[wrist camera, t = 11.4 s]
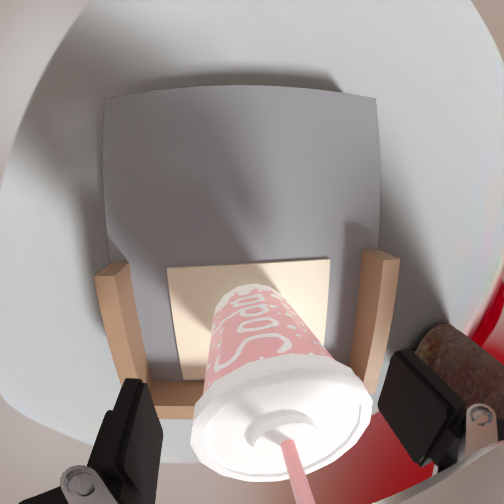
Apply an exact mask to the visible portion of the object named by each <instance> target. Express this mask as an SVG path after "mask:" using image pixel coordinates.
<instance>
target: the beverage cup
mask: <svg viewBox="0 0 504 504" xmlns="http://www.w3.org/2000/svg"><path fill="white" fill-rule="evenodd" d="M371 409H372V399H371V397H370V395H369V393H368V392H367V390H366V388H365V386H364V384H363V383H362V381H361V380H360V378H359V377H358V376H356V375H355V374H354V372H353V371H352V369H351V368H350V367H347V366H345V365H343V364H341V363H340V362H338V361H336V360H334V358H333V357H332V356H331V355H330V354H329V352H328V351H327V350H326V349H325V347H324V346H323V345H322V344H321V342H320V341H319V340H318V339H317V337H316V336H315V335H314V334H313V332H312V331H311V330H310V329H309V328H308V326H307V325H306V324H305V323H304V321H303V320H302V319H301V318H300V316H299V315H298V314H297V313H296V311H295V310H294V309H293V308H292V306H291V305H290V304H289V303H288V301H287V300H286V299H285V298H284V297H283V295H282V294H281V293H279V292H277V291H276V290H274V289H273V288H271V287H269V286H265V285H259V284H249V285H244V286H239V287H237V288H235V289H233V290H232V291H230V292H229V293H227V294H226V295H224V296H223V298H222V299H221V301H220V302H219V303H218V305H217V306H216V308H215V313H214V318H213V324H212V331H211V338H210V345H209V353H208V360H207V367H206V375H205V382H204V390H203V396H202V397H201V398H200V399H199V400H198V402H197V403H196V404H195V409H194V416H193V423H192V430H191V437H190V444H191V446H192V448H193V450H194V451H195V453H196V455H197V456H198V458H199V460H200V461H201V463H203V464H204V465H206V466H208V467H209V468H211V469H212V470H214V471H216V472H218V473H219V474H221V475H223V476H227V477H231V478H235V479H239V480H244V481H249V482H265V481H281V480H285V479H290V482H291V486H292V489H293V493H294V497H295V500H296V503H297V504H315V502H314V499H313V496H312V493H311V490H310V487H309V484H308V481H307V478H306V474H309V473H311V472H313V471H315V470H317V469H319V468H322V467H324V466H326V465H328V464H329V463H331V462H333V461H335V460H336V459H338V458H339V457H340V456H341V455H342V454H344V453H345V452H346V451H347V450H349V449H350V448H351V447H352V446H353V445H354V444H356V442H357V441H358V439H359V438H360V436H361V435H362V433H363V432H364V430H365V429H366V427H367V426H368V424H369V422H370V416H371Z"/></svg>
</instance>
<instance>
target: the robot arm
mask: <svg viewBox="0 0 504 504" xmlns="http://www.w3.org/2000/svg"><path fill="white" fill-rule="evenodd" d="M466 405H467V404H466V403H465V402H464V401H463V400H462V399H461V398H460V397H459V396H458V395H457V394H456V393H455V392H454V391H453V390H452V389H451V388H450V387H449V386H448V385H447V384H446V383H445V382H444V381H443V380H442V379H441V378H440V377H439V376H438V375H437V374H436V373H435V372H434V371H433V370H432V369H431V368H430V367H429V366H428V365H427V364H425V363H424V362H423V361H422V360H421V359H420V358H419V357H418V356H417V355H416V354H415V353H414V352H413V351H412V350H411V349H409V348H406V349H403V350H399V351H396V352H395V353H394V355H393V356H392V357H391V360H390V364H389V367H388V371H387V374H386V378H385V381H384V385H383V388H382V391H381V394H380V397H379V400H378V409H379V411H380V412H381V414H382V415H383V417H384V418H385V420H386V421H387V423H388V424H389V426H390V427H391V429H392V430H393V431H394V433H395V434H396V436H397V437H398V439H399V440H400V442H401V443H402V445H403V446H404V448H405V449H406V451H407V452H408V454H409V455H410V457H411V458H412V460H413V461H414V462H415V463H418V464H419V466H420V467H423V466H425V465H427V464H429V463H431V461H433V462H434V464H435V465H434V470H433V475H432V477H430V478H429V479H427V480H425V481H423V482H421V483H419V484H417V485H415V486H413V487H411V488H409V489H406V490H404V491H402V492H400V493H397V494H395V495H393V496H391V497H388V498H385V499H383V500H380V501H378V502H375V503H373V504H504V419H499V418H496V414H495V412H494V410H493V409H492V408H491V407H489V406H487V405H485V404H481V403H480V404H474V405H472V406H470V407H469V408H468V410H466V409H465V407H466ZM162 441H163V430H162V427H161V424H160V421H159V418H158V416H157V413H156V410H155V407H154V403H153V400H152V397H151V394H150V391H149V387H148V384H147V383H143V381H142V379H138V378H126V379H125V380H124V382H123V385H122V388H121V390H120V393H119V395H118V398H117V401H116V403H115V406H114V409H113V411H112V410H108V411H107V412H106V414H105V416H104V419H103V422H102V424H101V427H100V430H99V432H98V435H97V438H96V441H95V444H94V447H93V450H92V453H91V455H90V458H89V461H88V464H87V466H80V465H77V466H73V467H70V468H68V469H67V470H66V471H65V472H64V473H63V474H62V476H61V478H60V486H59V487H57V488H55V489H52V490H50V491H47V492H45V493H42V494H39V495H37V496H34V497H31V498H29V499H26V500H23V501H22V502H20V503H19V504H155V499H156V489H157V479H158V471H159V463H160V456H161V448H162Z"/></svg>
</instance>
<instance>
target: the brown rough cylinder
mask: <svg viewBox="0 0 504 504" xmlns="http://www.w3.org/2000/svg"><path fill="white" fill-rule="evenodd" d="M414 353H415V354H416V355H417V356H418V357H419V358H420V359H421V360H422V361H423V362H424V363H425V364H427V365H428V366H429V367H430V368H431V369H432V370H433V371H434V372H435V373H436V374H437V375H438V376H439V377H440V378H441V379H442V380H443V381H444V382H445V383H446V384H447V385H448V386H449V387H450V388H451V389H452V390H453V391H454V392H455V393H456V394H457V395H458V396H459V397H460V398H461V399H462V400H463V401H464V402H465V403H466V404H467V405H466V407H465V409H466V410H468V408H469V407H470V406H472V405H474V404H480V403H481V404H485V405H487V406H489V407H491V408H492V409H493V410H494V412H495V414H496V418H499V419H504V365H503V364H501V363H500V362H499V361H497V360H496V359H495V358H494V357H493V356H491V355H490V354H489V353H488V352H486V351H485V350H484V349H483V348H481V347H480V346H479V345H477V344H476V343H475V342H474V341H472V340H471V339H470V338H468V337H467V336H466V335H464V334H463V333H462V332H460V331H459V330H457V329H456V328H454V327H453V326H452V325H451V324H441V325H436V326H435V327H433V328H432V329H431V330H430V331H428V332H427V334H426V336H425V337H423V338H422V340H421V342H420V343H419V345H418V348H417V350H416V351H414Z"/></svg>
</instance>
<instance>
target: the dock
mask: <svg viewBox="0 0 504 504" xmlns="http://www.w3.org/2000/svg"><path fill="white" fill-rule="evenodd" d="M103 190H104V207H105V220H106V231H107V240H108V249H109V256H110V264H109V265H107V266H106V267H105V268H104V269H102V270H101V271H100V272H99V273H97V274H96V275H95V276H94V281H95V287H96V292H97V297H98V302H99V307H100V311H101V315H102V320H103V324H104V328H105V332H106V336H107V340H108V343H109V347H110V351H111V354H112V357H113V361H114V364H115V367H116V370H117V374H118V377H119V380H120V383H121V386H122V385H123V382H124V380H125V379H126V378H138V379H142V381H143V383H147V384H148V387H149V391H150V394H151V397H152V400H153V403H154V407H155V410H156V413H157V416H158V418H159V419H193V416H194V409H195V404H196V403H197V402H198V400H199V399H200V398H201V397H202V396H203V390H204V382H205V375H206V367H207V360H208V353H209V345H210V338H211V331H212V324H213V318H214V313H215V308H216V306H217V305H218V303H219V302H220V301H221V299H222V298H223V296H224V295H226V294H227V293H229V292H230V291H232V290H233V289H235V288H237V287H239V286H244V285H249V284H259V285H265V286H269V287H271V288H273V289H274V290H276V291H277V292H279V293H281V294H282V295H283V297H284V298H285V299H286V300H287V301H288V303H289V304H290V305H291V306H292V308H293V309H294V310H295V311H296V313H297V314H298V315H299V316H300V318H301V319H302V320H303V321H304V323H305V324H306V325H307V326H308V328H309V329H310V330H311V331H312V332H313V334H314V335H315V336H316V337H317V339H318V340H319V341H320V342H321V344H322V345H323V346H324V347H325V349H326V350H327V351H328V352H329V354H330V355H331V356H332V357H333V358H334V360H336V361H338V362H340V363H341V364H343V365H345V366H347V367H350V368H351V369H352V371H353V372H354V374H355V375H356V376H358V377H359V378H360V380H361V381H362V383H363V384H364V386H365V388H366V390H367V392H368V393H369V395H370V394H374V393H375V391H376V387H377V383H378V380H379V376H380V372H381V368H382V364H383V360H384V356H385V351H386V347H387V342H388V338H389V333H390V328H391V322H392V317H393V311H394V305H395V299H396V292H397V285H398V277H399V268H400V259H399V258H397V257H395V256H393V255H390V254H388V253H386V252H384V251H381V250H379V249H378V243H379V225H380V147H379V129H378V116H377V105H376V99H375V98H370V97H364V96H359V95H353V94H347V93H341V92H334V91H326V90H318V89H308V88H297V87H284V86H264V85H216V86H195V87H182V88H171V89H162V90H154V91H146V92H139V93H133V94H127V95H121V96H116V97H110V98H105V102H104V118H103Z"/></svg>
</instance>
